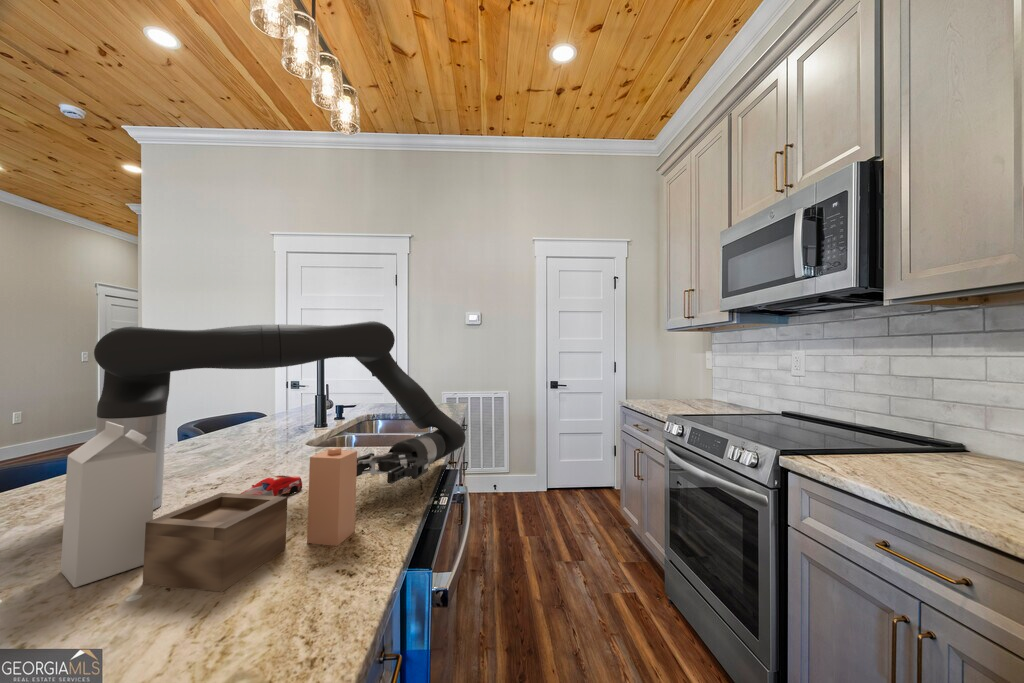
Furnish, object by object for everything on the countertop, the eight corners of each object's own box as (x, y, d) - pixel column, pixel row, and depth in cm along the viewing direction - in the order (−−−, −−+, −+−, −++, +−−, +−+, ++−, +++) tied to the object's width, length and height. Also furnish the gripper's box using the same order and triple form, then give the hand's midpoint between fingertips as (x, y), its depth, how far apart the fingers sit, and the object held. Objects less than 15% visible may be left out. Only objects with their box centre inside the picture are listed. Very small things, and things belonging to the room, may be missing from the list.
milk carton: (74, 589, 48) (83, 430, 48) (59, 572, 51) (68, 424, 52) (151, 564, 54) (158, 423, 55) (133, 550, 57) (140, 418, 58)
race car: (247, 514, 72) (247, 491, 72) (226, 510, 74) (227, 488, 74) (307, 491, 84) (307, 472, 84) (288, 487, 86) (288, 469, 86)
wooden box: (142, 583, 49) (145, 522, 49) (218, 542, 60) (221, 492, 60) (222, 591, 48) (225, 528, 48) (285, 548, 59) (287, 496, 59)
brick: (306, 543, 60) (310, 451, 61) (326, 529, 65) (329, 444, 66) (337, 545, 60) (340, 453, 60) (354, 531, 65) (357, 446, 65)
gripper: (385, 435, 89) (335, 451, 74) (443, 440, 86) (404, 458, 70) (384, 469, 89) (334, 492, 73) (442, 475, 85) (402, 501, 70)
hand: (368, 475), depth 72 cm, fingers open, 8 cm apart
